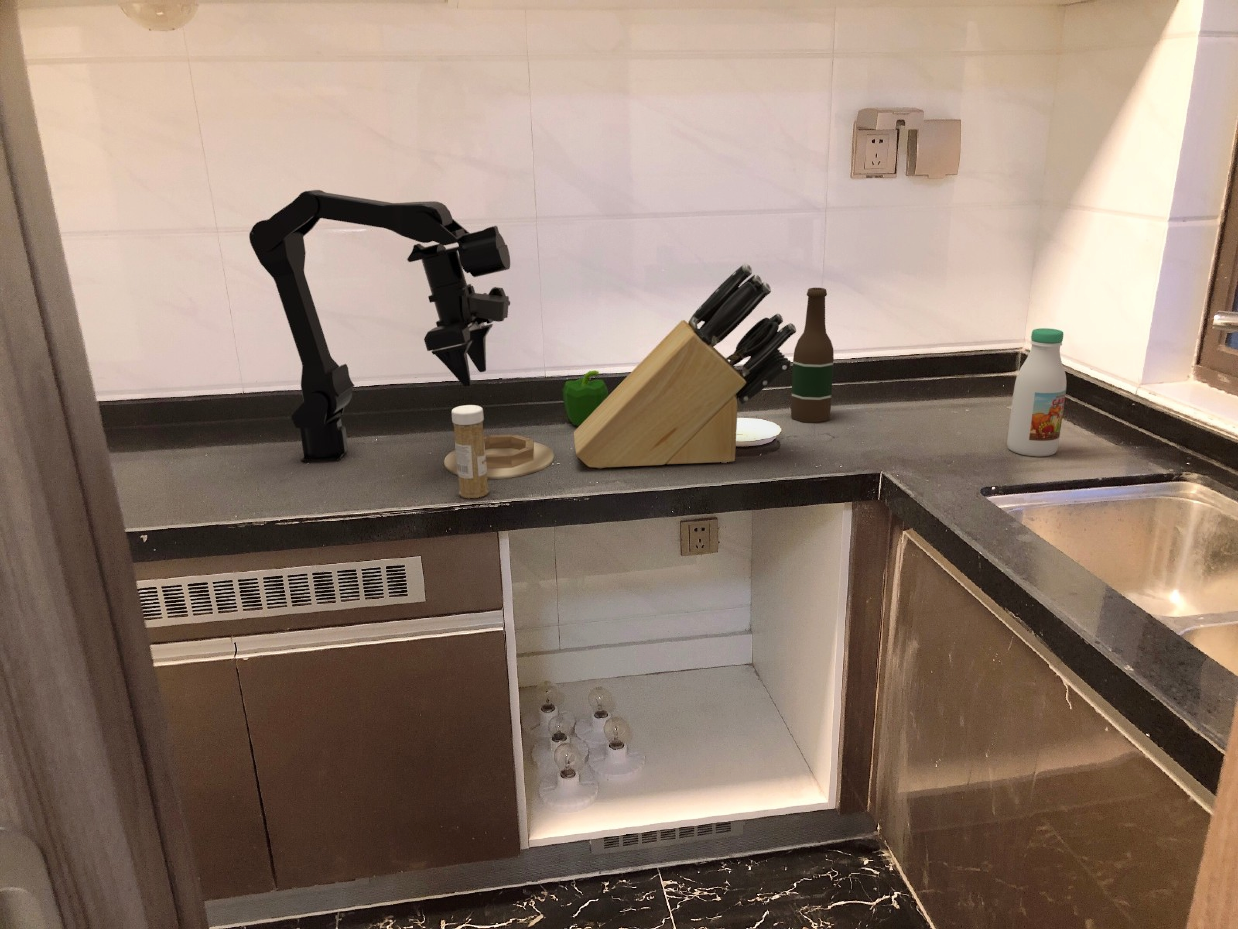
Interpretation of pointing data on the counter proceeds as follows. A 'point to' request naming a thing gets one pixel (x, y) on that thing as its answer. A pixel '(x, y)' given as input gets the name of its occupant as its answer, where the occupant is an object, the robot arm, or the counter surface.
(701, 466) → the counter surface
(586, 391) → the bell pepper
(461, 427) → the sprinkles bottle
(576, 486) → the counter surface
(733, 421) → the knife block
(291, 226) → the robot arm
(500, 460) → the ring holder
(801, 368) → the beer bottle
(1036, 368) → the milk bottle
